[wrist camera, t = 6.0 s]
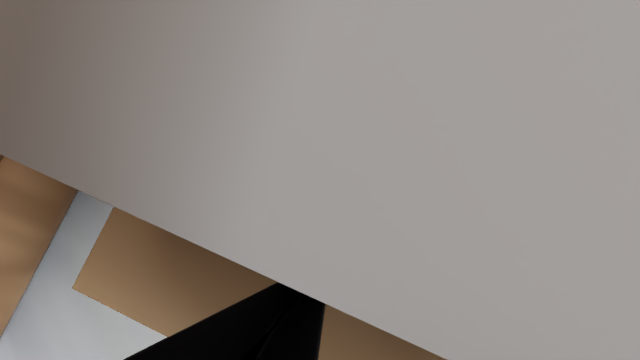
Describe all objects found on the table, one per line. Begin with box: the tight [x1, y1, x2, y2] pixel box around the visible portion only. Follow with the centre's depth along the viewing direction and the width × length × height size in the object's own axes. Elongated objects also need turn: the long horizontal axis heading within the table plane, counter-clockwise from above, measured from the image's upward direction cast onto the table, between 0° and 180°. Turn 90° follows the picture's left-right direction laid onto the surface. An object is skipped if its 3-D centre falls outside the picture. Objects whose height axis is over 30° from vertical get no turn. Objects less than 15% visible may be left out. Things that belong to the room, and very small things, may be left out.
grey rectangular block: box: [0, 0, 640, 360], centre depth 9 cm, size 5×9×7 cm, turn 66°
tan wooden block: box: [72, 207, 447, 360], centre depth 15 cm, size 7×11×5 cm, turn 66°
